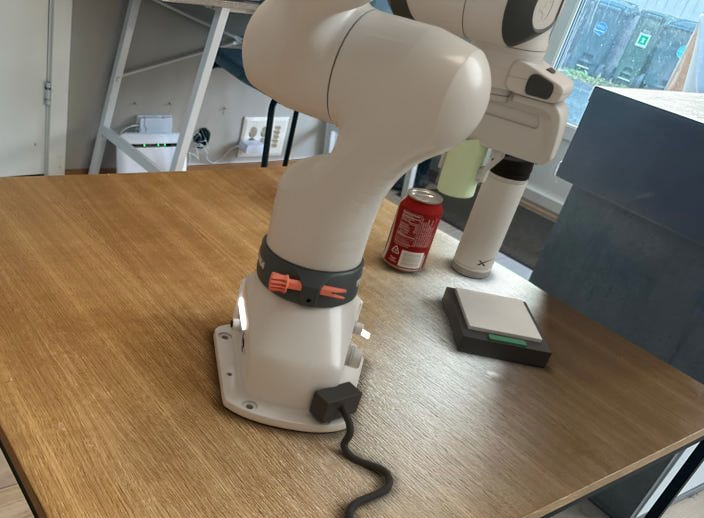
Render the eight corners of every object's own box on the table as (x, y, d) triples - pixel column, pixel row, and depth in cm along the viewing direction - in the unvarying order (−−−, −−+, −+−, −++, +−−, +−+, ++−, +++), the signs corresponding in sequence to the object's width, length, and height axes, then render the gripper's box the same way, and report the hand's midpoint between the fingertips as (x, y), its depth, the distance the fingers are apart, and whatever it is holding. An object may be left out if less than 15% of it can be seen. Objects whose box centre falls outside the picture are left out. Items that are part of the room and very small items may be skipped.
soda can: (423, 278, 111) (448, 207, 105) (380, 268, 112) (403, 197, 105) (421, 260, 117) (445, 192, 110) (381, 251, 117) (403, 182, 111)
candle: (431, 191, 96) (448, 130, 91) (442, 183, 99) (459, 124, 95) (467, 201, 94) (487, 139, 89) (477, 192, 97) (496, 133, 93)
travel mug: (485, 283, 113) (535, 163, 102) (446, 268, 116) (491, 149, 104) (494, 271, 118) (543, 155, 107) (456, 257, 120) (501, 142, 109)
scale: (544, 367, 95) (554, 349, 93) (457, 350, 95) (465, 332, 93) (519, 315, 106) (527, 298, 104) (441, 300, 106) (448, 282, 104)
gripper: (414, 47, 89) (382, 154, 97) (577, 93, 81) (528, 205, 89) (431, 44, 94) (400, 146, 101) (587, 87, 86) (540, 194, 93)
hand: (461, 174), depth 95 cm, fingers closed on candle, 3 cm apart
